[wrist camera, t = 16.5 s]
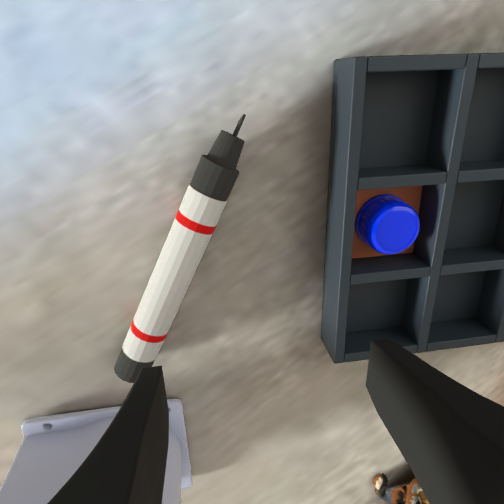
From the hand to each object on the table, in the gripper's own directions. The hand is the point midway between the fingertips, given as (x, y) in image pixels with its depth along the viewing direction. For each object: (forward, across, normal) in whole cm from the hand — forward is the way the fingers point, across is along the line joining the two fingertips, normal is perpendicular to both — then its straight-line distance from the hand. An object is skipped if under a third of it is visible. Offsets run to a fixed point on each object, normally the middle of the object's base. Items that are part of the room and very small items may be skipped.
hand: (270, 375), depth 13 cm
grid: (+9, -13, -2) cm, 16 cm away
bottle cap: (+9, -8, -2) cm, 12 cm away
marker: (+10, +3, -1) cm, 10 cm away
